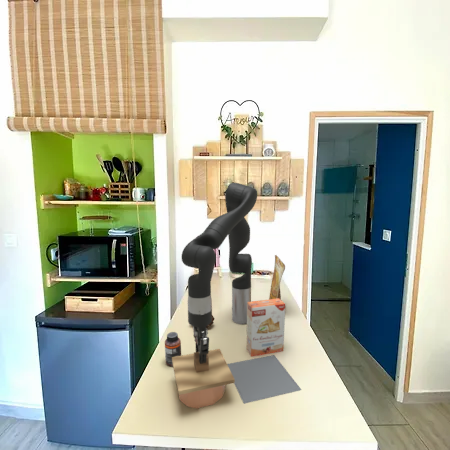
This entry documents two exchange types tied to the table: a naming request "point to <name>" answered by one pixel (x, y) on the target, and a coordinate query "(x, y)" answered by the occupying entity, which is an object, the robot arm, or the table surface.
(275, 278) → the pancake mix bag
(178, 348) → the supplement bottle
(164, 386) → the table surface
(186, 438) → the table surface
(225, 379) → the board
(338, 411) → the table surface
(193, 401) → the bowl
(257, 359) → the mat
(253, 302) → the cracker box
